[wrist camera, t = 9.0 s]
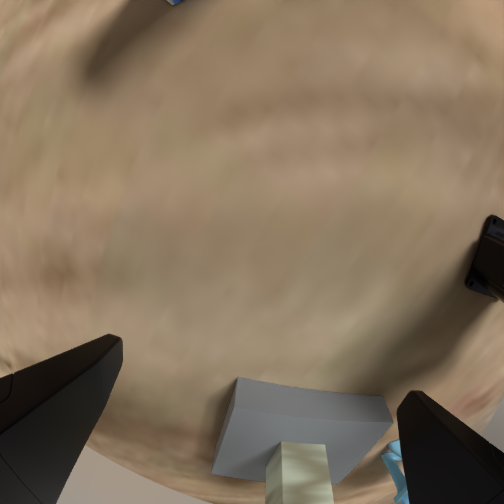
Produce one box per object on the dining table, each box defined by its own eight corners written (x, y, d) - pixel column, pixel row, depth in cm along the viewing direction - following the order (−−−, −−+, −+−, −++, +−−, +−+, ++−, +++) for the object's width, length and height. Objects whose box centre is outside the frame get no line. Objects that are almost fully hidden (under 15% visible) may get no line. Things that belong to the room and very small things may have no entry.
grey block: (381, 392, 24) (393, 422, 20) (332, 458, 28) (337, 484, 24) (238, 373, 23) (234, 406, 20) (215, 445, 27) (211, 473, 23)
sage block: (324, 444, 21) (336, 520, 13) (305, 470, 23) (310, 537, 15) (281, 441, 21) (283, 521, 13) (266, 467, 22) (264, 536, 15)
